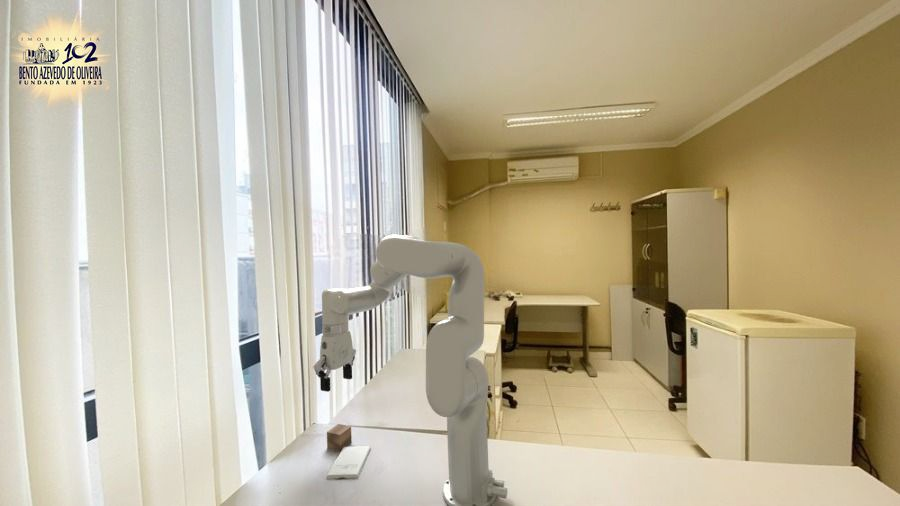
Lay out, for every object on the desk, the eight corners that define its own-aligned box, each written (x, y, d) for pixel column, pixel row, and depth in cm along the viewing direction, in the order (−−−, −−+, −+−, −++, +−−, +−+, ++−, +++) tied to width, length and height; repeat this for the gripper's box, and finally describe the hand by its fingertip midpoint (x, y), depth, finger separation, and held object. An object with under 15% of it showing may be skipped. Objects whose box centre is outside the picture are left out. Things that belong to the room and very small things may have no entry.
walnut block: (351, 442, 98) (351, 426, 98) (340, 451, 94) (339, 434, 94) (338, 439, 100) (338, 423, 100) (327, 448, 96) (326, 432, 96)
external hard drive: (370, 451, 94) (357, 480, 82) (343, 452, 94) (326, 480, 82) (370, 445, 94) (357, 473, 82) (343, 446, 94) (326, 474, 82)
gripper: (324, 336, 88) (326, 397, 88) (363, 323, 104) (364, 375, 104) (304, 334, 91) (305, 394, 91) (344, 322, 107) (346, 373, 107)
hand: (337, 384), depth 97 cm, fingers open, 9 cm apart
